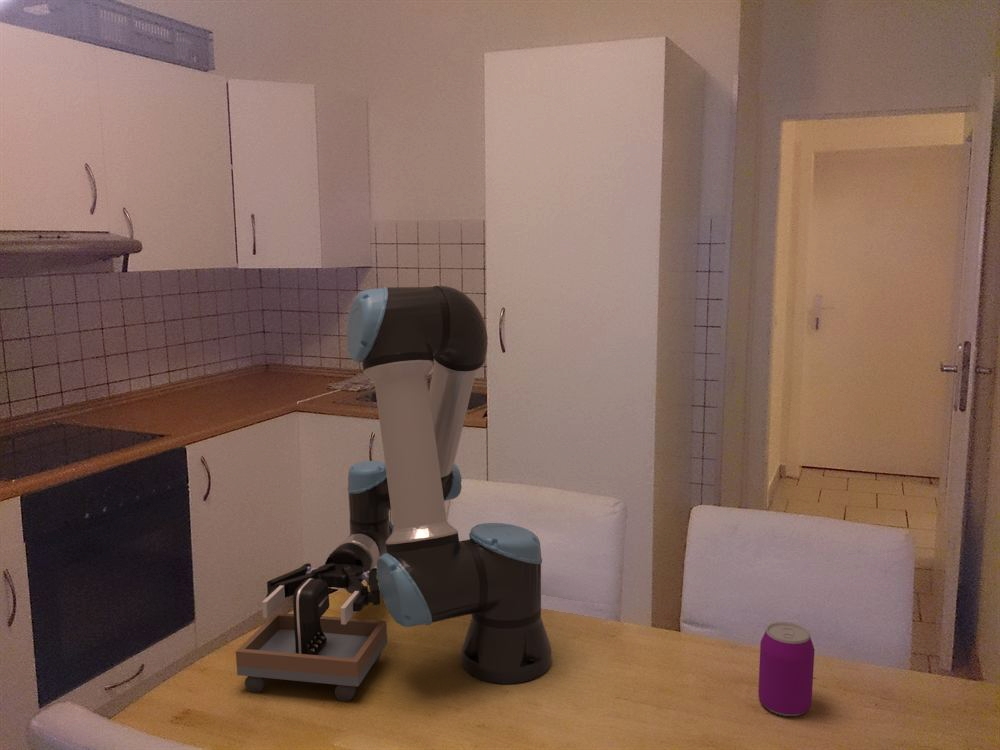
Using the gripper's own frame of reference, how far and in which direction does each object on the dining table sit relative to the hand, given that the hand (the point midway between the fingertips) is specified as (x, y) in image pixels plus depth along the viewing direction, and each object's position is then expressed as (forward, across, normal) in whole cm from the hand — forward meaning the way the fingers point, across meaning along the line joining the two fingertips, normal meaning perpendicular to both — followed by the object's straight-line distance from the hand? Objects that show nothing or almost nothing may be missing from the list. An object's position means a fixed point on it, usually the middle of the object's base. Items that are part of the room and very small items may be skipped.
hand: (303, 613), depth 131 cm
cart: (-3, 0, -12) cm, 13 cm away
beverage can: (-7, -74, -13) cm, 75 cm away
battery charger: (-3, 0, -8) cm, 9 cm away
